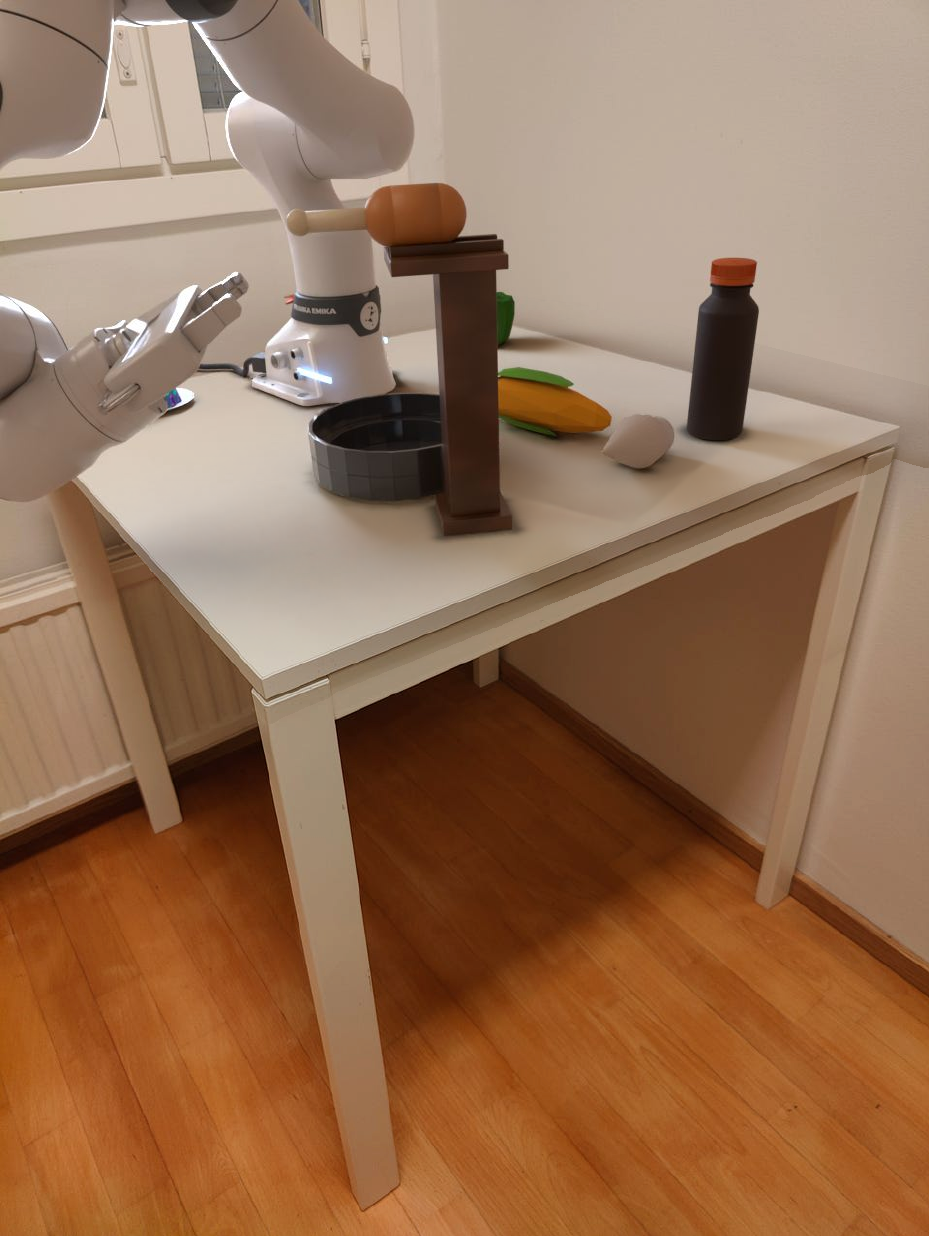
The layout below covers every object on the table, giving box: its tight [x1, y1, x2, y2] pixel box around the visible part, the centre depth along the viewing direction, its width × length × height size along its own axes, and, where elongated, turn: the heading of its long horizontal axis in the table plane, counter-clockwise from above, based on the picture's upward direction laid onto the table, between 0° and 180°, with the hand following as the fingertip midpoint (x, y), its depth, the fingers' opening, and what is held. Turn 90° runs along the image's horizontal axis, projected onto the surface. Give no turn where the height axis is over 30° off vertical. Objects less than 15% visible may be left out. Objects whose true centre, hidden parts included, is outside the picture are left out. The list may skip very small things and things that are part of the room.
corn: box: [498, 366, 613, 437], centre depth 109 cm, size 7×8×20 cm
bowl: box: [307, 392, 445, 502], centre depth 100 cm, size 20×20×6 cm
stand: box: [383, 233, 513, 537], centre depth 82 cm, size 10×8×27 cm
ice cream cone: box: [600, 413, 675, 470], centre depth 97 cm, size 6×6×15 cm
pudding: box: [166, 387, 195, 411], centre depth 124 cm, size 12×12×5 cm
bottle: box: [686, 257, 760, 441], centre depth 103 cm, size 7×7×20 cm
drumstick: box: [286, 182, 467, 247], centre depth 73 cm, size 15×5×5 cm, turn 99°
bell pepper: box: [497, 291, 516, 346], centre depth 145 cm, size 8×8×10 cm
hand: (240, 290), depth 75 cm, fingers open, 8 cm apart
